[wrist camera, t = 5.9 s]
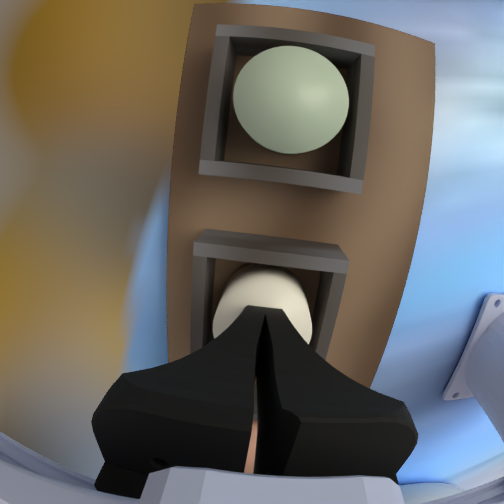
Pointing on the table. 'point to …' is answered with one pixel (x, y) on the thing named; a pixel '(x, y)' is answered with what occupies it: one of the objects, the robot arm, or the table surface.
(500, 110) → the table surface
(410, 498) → the bowl
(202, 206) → the panel
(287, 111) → the sage button
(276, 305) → the cream button
